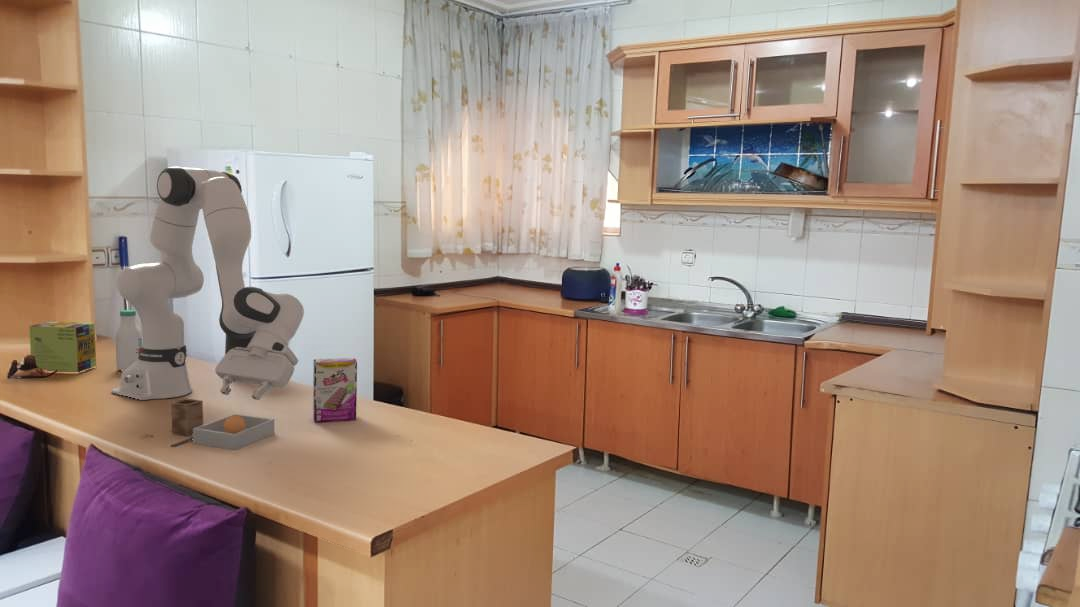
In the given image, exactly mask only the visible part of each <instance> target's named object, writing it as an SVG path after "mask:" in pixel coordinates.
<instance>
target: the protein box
mask: <svg viewBox="0 0 1080 607" xmlns="http://www.w3.org/2000/svg"><path fill="white" fill-rule="evenodd" d="M95 327H96V326H95V322H80V321H74V322H73V321H48V322H43V323H37V324H33V325H30V326H29V344H30V346H29V347H30V356H31V355H33V356H35V360H36V365H37V366H38V367H39V368H42V369H44V370H47V371H54V370H57V371H58V372H80V371H83V370H86V369H89V368H92V367H94V366H96V367H97V354H96V353H97V351H96V350H97V349H96V334H95V332H96V331H95Z"/></svg>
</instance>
